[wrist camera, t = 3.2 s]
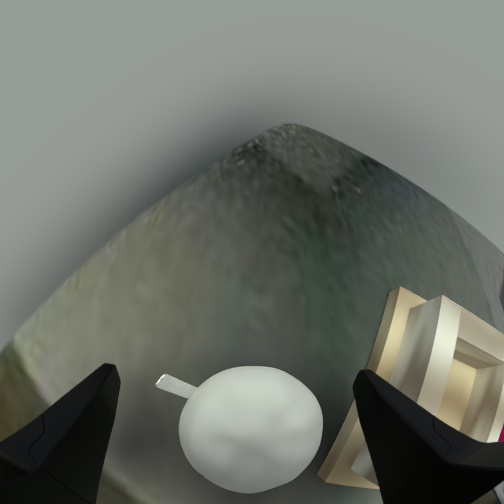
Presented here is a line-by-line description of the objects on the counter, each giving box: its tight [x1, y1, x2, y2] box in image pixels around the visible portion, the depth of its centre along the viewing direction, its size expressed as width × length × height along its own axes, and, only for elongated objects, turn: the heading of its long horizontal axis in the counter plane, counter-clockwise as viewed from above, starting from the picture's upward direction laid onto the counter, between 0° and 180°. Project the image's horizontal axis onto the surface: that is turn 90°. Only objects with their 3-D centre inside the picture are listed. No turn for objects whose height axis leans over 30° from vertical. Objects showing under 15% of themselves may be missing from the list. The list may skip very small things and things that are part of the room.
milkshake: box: [154, 366, 323, 493], centre depth 10 cm, size 5×5×10 cm
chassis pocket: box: [317, 286, 504, 489], centre depth 13 cm, size 14×14×5 cm
